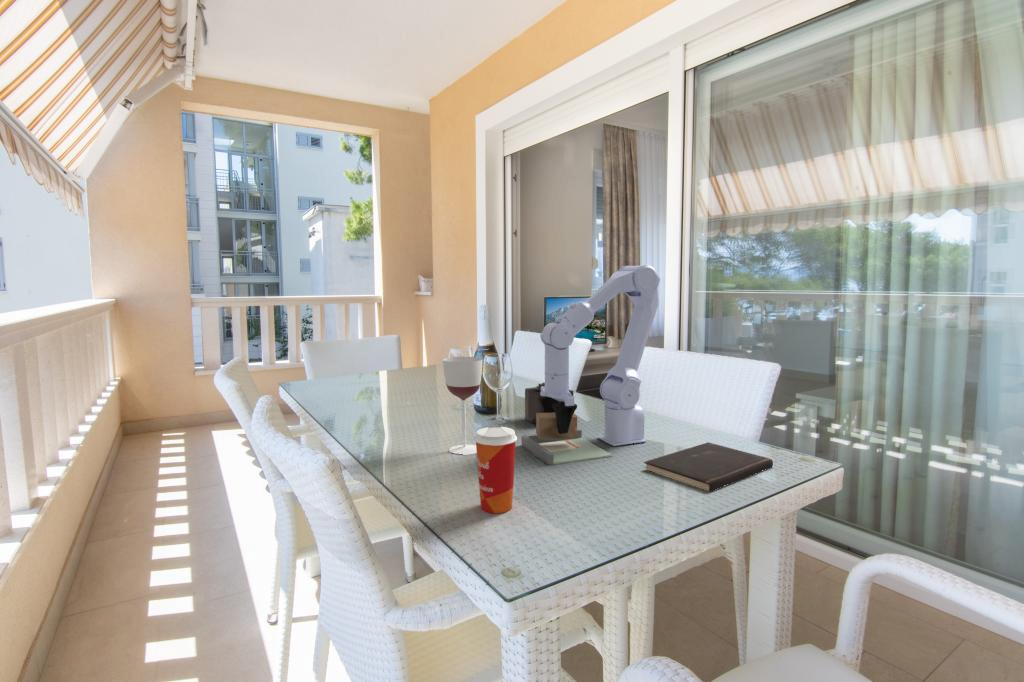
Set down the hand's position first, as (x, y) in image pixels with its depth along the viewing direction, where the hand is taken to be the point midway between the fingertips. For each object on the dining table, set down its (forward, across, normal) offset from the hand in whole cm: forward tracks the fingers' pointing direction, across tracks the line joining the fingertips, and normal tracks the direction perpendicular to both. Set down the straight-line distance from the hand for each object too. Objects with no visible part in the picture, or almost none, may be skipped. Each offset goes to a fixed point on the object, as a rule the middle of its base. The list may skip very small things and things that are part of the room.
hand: (556, 429), depth 133 cm
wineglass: (+5, -8, -21) cm, 23 cm away
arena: (+5, +2, +1) cm, 5 cm away
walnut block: (+2, 0, 0) cm, 2 cm away
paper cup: (+5, +27, -25) cm, 37 cm away
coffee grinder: (+5, -22, +9) cm, 24 cm away
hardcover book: (+6, +25, +24) cm, 35 cm away
